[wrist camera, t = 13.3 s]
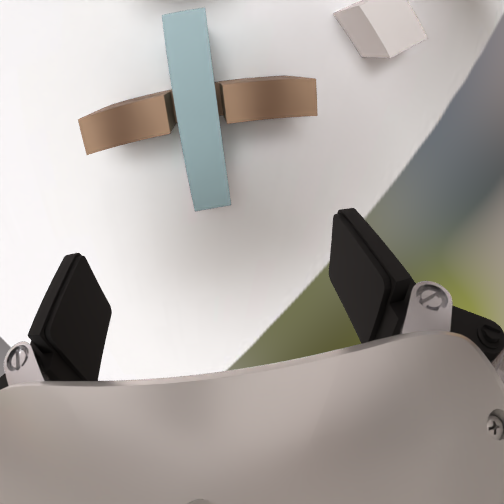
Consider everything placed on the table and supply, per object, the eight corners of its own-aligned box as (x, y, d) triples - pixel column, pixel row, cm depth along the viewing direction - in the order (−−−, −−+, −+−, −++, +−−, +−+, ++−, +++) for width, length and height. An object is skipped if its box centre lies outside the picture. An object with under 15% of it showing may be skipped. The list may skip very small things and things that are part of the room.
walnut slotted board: (284, 75, 26) (315, 78, 19) (286, 102, 28) (317, 115, 20) (111, 104, 25) (78, 119, 17) (116, 130, 26) (86, 155, 19)
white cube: (332, 13, 22) (358, 5, 17) (370, -4, 20) (400, -12, 16) (361, 57, 25) (391, 58, 20) (396, 38, 24) (428, 38, 19)
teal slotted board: (204, 26, 22) (205, 7, 14) (223, 169, 31) (231, 205, 24) (173, 31, 21) (161, 15, 14) (196, 174, 31) (195, 211, 24)
